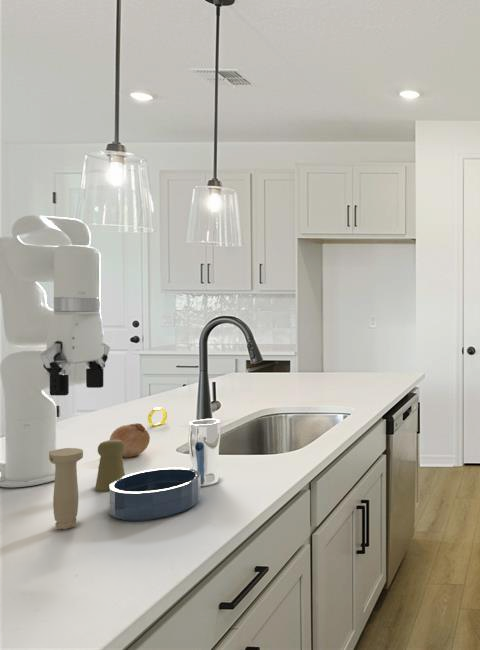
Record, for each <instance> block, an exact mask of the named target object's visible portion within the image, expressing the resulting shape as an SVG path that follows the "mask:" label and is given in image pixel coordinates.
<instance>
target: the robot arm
mask: <svg viewBox="0 0 480 650" xmlns="http://www.w3.org/2000/svg"><path fill="white" fill-rule="evenodd" d="M11 234H12V236H2V237H0V298H1V309H2V317H3V318H2V319H3V328H4V335H5V339H6V340H7V342H8V344H9V345H10V346H14V347H16V348H17V347H19V348H39V347H40V348H41V347H46V349H36V350H35V349H34V350H21V351H15V352H13V353H10V354H8V355H6V356H5V357H4V358H2V360H1V362H0V378H1V384H2V390H3V394H4V411H5V413H4V414H5V417H4V419H5V420H4V422H5V423H4V424H5V427H4V429H5V433H4V434H5V436H4V440H5V441H4V443H5V444H4V445H5V447H4V448H5V451H4V453H5V459H4V460H5V461H0V488H25V487H32V486H37V485H43V484H46V483H50V482H55V464H54V463H51V462H50V460H49V452H50V451H53V450H57V439H58V438H57V428H58V427H57V425H58V424H57V422H58V421H57V416H58V415H57V405H56V403H55V401H54V400H53V399H52V398H50V397H49V396H48V395H47V394H46V393H45V392H44V390H47V389H48V390H49V395H50V396H68V395H69V393H70V387H75V386H76V387H77V386H82V385H84V384H85V385H86V388H90V389H96V388H97V389H101V388H103V387H104V369H105V368H106V362H107V361H108V358H109V357H108V356H109V352H110V350H111V347H110V346H109V345H108V344H106V343H105V342H104V341H105V340H104V328H103V322H102V315H101V314H102V313H101V311H102V310H101V253H100V251H99V249H97V248H96V247H93V246H90V245H91V242H92V241H91V240H92V237H91V236H92V235H91V231H90V229H89V227H88V225H87V224H86V223H85V222H84V221H82V220H80V219H77V218H72V217H70V218H69V217H62V216H61V217H60V216H50V215H39V214H32V215H31V214H30V215H24V216H22V217H20V218H18V219H17V220H16V221H14V223H13V224H12V228H11ZM41 282H42V283H53V308H50V307H49V306H48V304H47V303H48V302H47V294H46V291H45V289H44V288H43V287H42V286H41V284H40V283H41Z"/></svg>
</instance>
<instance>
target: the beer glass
mask: <svg viewBox="0 0 480 650" xmlns="http://www.w3.org/2000/svg"><path fill="white" fill-rule="evenodd" d="M221 435H222V434H221V420H219V419H216V418H205V419H196V420H193V421H190V422H189V428H188V441H187V442H188V451H189V456H190V462H191V469H193V470H196V471H198V472H199V473H200V475H201V479H200V487H209V486H212V485H215V484H216V483H218V482H219V475H218V467H217V466H218V458H219V454H220V449H221V438H222V437H221Z"/></svg>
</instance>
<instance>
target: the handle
mask: <svg viewBox="0 0 480 650" xmlns="http://www.w3.org/2000/svg"><path fill="white" fill-rule="evenodd" d="M83 458H84V449H82V448H77V447H65V448H58V449H57V448H56V450H53V451H50V452H49V460H50V462H51V463H54V464H55V480H54V485H53V495H52V496H53V498H52V500H53V501H52V502H53V504H52V505H53V515H54V516H53V517H54V521H55V523H54V526H55V529H56V530H59V531H60V530H68V529H70V528H74V527H75V526H76V523H77V517H78V511H79V486H78V484H79V483H78V469H77V468H78V467H77V464H78V462H79V461H80V460H81V459H83Z"/></svg>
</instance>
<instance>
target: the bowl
mask: <svg viewBox="0 0 480 650" xmlns="http://www.w3.org/2000/svg"><path fill="white" fill-rule="evenodd" d="M200 479H201V475H200V473H199V472H198V471H196V470H193V469H192V468H185V467H165V468H164V467H163V468H155V469H148V470H143V471H139V472H134V473H130V474H127V475H125V476H124V477H121V478H119V479H117V480H115V481H113V482H112V483H111V484H110V485H109V491H108V492H109V493H108V495H109V497H108V498H109V499H108V506H109V507H108V510H109V511H108V512H109V515H110V516H112V517H113V518H116V519H118V520H121V521H130V522H131V521H132V522H141V521H151V520H157V519H158V520H159V519H163V518H168V517H172V516H176V515H178V514H181V513H184V512H186V511H188V510H189V509H192V507H194V506H195V505H197V504H198V503H199V501H200V500H201V486H200Z"/></svg>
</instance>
